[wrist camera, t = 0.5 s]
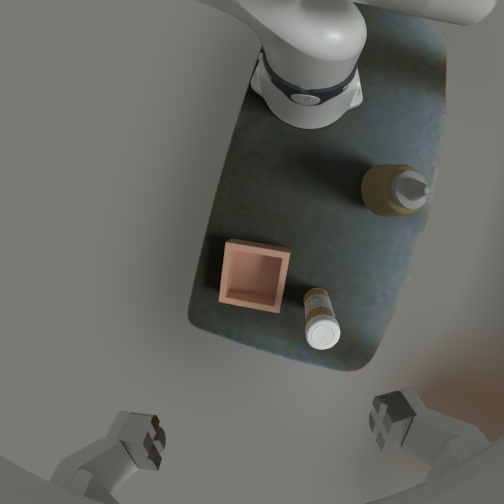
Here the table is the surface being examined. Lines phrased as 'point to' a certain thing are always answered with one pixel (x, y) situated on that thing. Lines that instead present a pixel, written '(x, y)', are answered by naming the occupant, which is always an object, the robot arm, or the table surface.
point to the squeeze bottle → (394, 190)
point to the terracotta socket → (254, 274)
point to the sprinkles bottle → (320, 319)
